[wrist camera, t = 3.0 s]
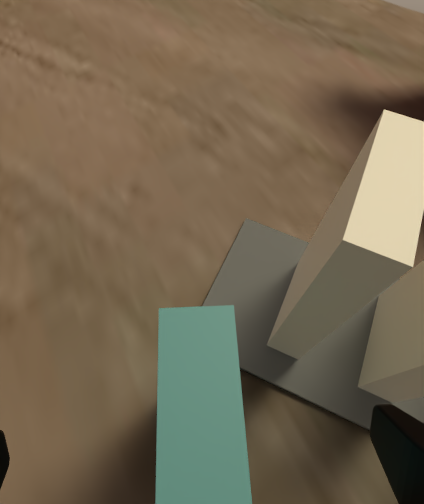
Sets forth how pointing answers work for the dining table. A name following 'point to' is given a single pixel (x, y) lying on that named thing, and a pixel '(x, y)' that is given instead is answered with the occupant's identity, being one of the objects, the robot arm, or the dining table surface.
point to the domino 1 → (358, 237)
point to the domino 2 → (397, 341)
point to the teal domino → (200, 409)
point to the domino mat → (265, 315)
